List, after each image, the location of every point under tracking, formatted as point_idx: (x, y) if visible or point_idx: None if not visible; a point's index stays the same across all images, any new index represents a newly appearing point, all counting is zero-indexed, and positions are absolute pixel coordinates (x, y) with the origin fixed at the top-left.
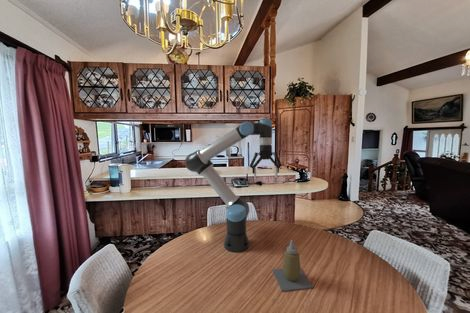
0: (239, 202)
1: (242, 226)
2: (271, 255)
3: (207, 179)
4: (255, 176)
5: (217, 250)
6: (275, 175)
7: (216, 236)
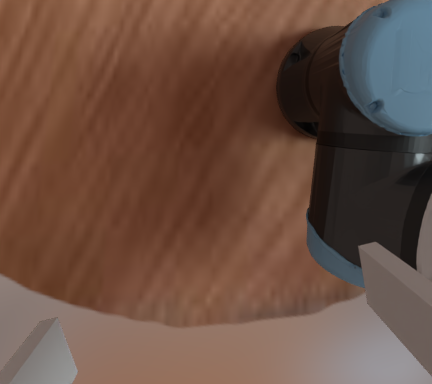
0: (401, 187)
1: (338, 33)
2: (185, 20)
3: None
4: (387, 258)
5: None
6: (56, 372)
7: None
